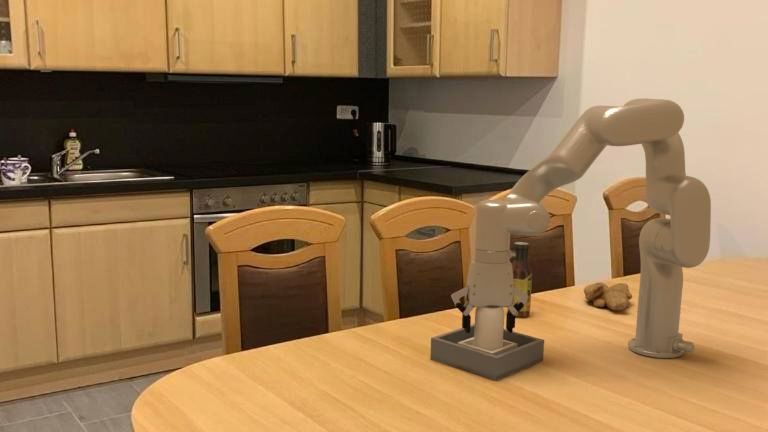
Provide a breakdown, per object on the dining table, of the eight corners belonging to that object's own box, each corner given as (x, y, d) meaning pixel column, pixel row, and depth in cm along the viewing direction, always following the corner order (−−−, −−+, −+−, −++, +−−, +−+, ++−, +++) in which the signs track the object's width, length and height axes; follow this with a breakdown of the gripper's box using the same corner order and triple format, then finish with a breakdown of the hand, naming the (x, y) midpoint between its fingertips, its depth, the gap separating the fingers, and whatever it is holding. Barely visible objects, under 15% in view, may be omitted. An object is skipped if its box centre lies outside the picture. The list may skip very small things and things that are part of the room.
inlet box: (542, 361, 178) (544, 339, 177) (495, 381, 165) (497, 358, 164) (478, 342, 190) (479, 322, 189) (430, 359, 177) (431, 337, 176)
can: (501, 361, 173) (504, 309, 172) (471, 359, 175) (474, 306, 173) (502, 352, 180) (505, 301, 178) (474, 350, 181) (476, 299, 179)
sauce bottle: (531, 318, 211) (535, 246, 208) (508, 318, 211) (512, 245, 208) (527, 312, 217) (531, 241, 214) (505, 311, 217) (508, 240, 214)
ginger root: (590, 290, 237) (597, 266, 235) (639, 312, 228) (647, 288, 226) (566, 302, 226) (574, 277, 223) (617, 326, 217) (625, 300, 214)
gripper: (525, 252, 178) (521, 325, 181) (449, 252, 176) (446, 326, 179) (535, 260, 171) (530, 336, 174) (456, 259, 169) (453, 336, 172)
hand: (488, 331), depth 176 cm, fingers open, 9 cm apart
